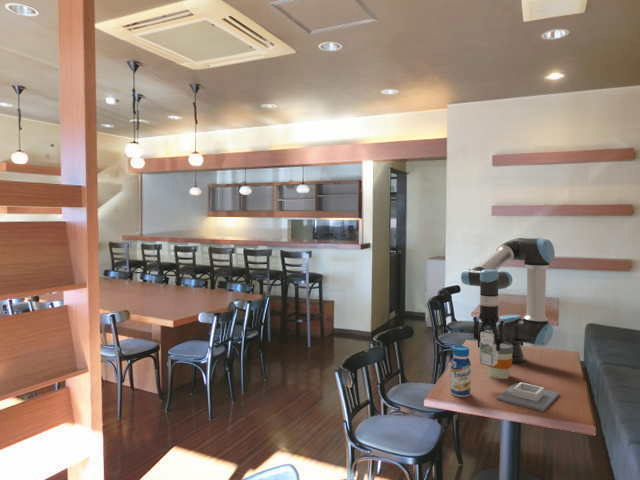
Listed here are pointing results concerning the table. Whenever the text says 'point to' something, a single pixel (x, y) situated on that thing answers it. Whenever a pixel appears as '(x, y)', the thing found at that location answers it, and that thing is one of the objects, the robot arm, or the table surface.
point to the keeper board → (528, 396)
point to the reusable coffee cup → (502, 362)
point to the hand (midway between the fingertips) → (488, 356)
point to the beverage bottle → (460, 372)
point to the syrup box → (487, 348)
